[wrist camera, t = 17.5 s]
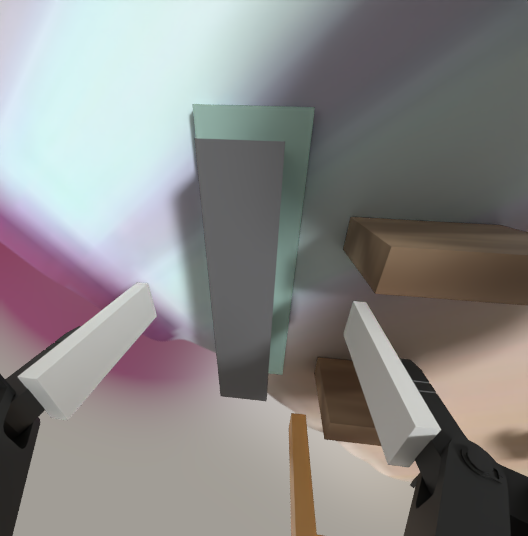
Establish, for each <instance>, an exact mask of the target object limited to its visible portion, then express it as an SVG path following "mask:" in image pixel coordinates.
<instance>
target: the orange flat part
mask: <svg viewBox="0 0 528 536" xmlns="http://www.w3.org/2000/svg"><path fill="white" fill-rule="evenodd" d="M289 454H290V499H291V536H323V535H317V533H316V523H315V512H314V501H313V490H312V479H311V469H310V459H309V458H310V457H309V446H308V436H307V425H306V415H302V414H294V413H292V414H291V419H290V425H289Z"/></svg>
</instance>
